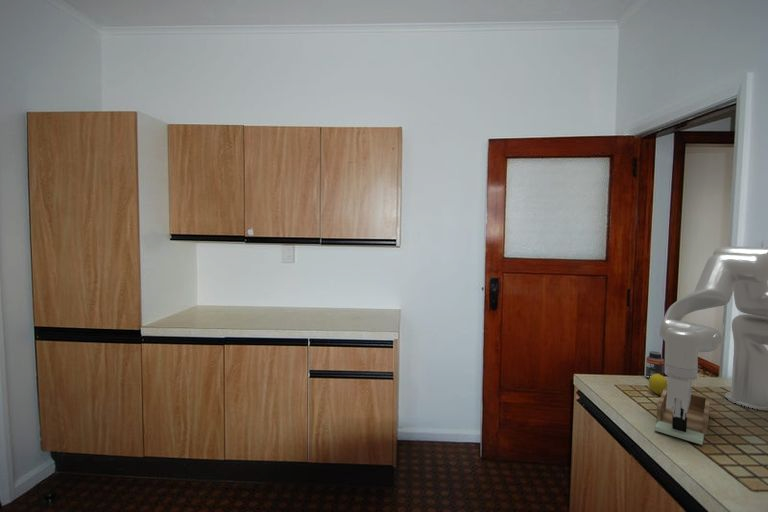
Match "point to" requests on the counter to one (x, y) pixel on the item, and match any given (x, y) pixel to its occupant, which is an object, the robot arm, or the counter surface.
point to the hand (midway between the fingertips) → (679, 429)
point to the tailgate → (680, 432)
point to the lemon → (657, 383)
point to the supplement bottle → (654, 364)
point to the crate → (695, 414)
